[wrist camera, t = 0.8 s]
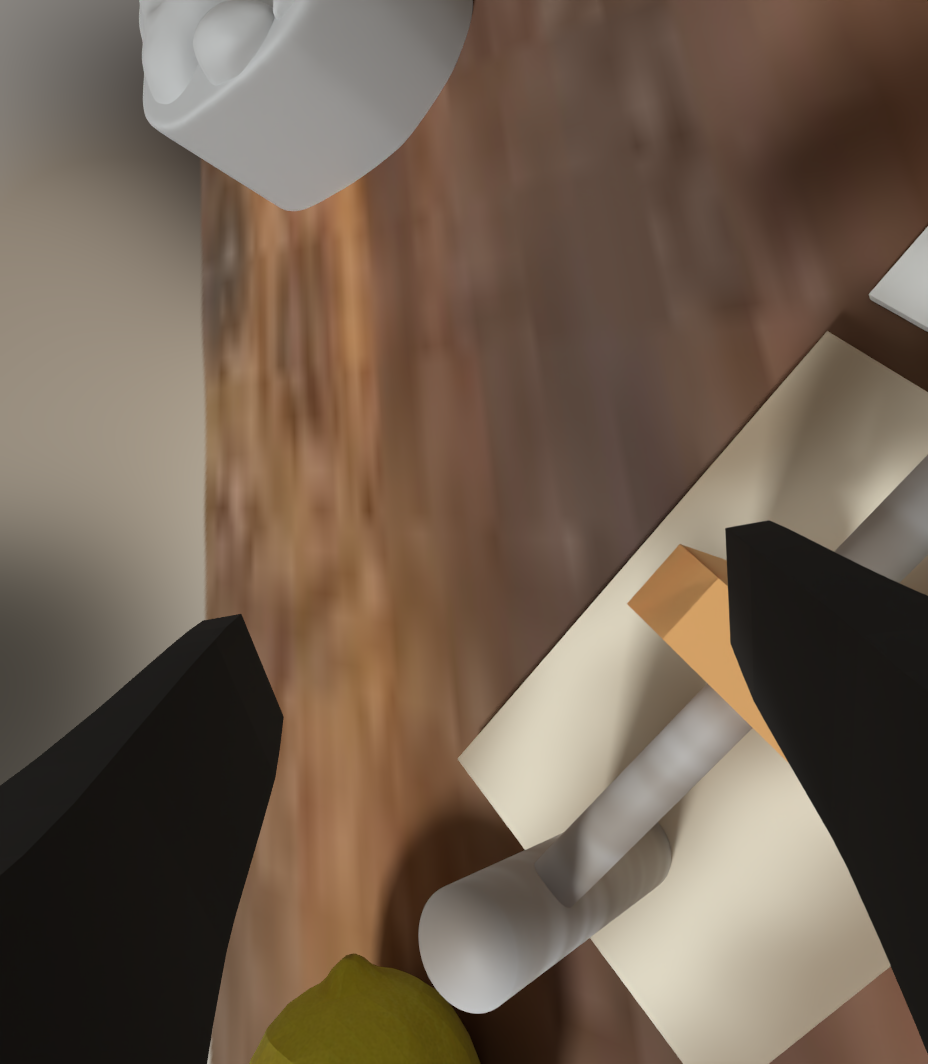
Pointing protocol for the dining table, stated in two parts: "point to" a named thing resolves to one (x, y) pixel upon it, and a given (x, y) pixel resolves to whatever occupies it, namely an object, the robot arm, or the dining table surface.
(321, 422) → the dining table surface
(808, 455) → the hook stand
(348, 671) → the dining table surface
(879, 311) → the dining table surface
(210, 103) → the lumpy-topped squat cylinder
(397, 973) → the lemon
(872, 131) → the dining table surface
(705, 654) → the c link
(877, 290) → the grey mat
